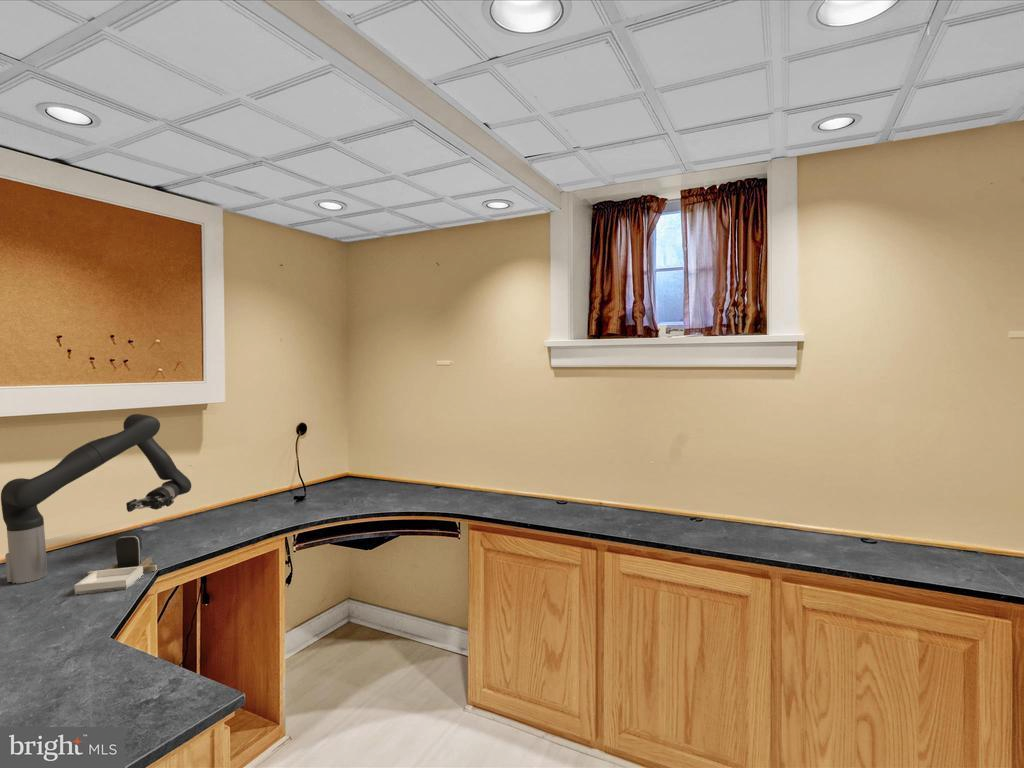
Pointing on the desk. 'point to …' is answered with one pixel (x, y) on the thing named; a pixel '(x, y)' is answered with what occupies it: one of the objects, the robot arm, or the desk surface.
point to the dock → (144, 564)
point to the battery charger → (128, 551)
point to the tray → (108, 580)
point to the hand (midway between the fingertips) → (142, 508)
